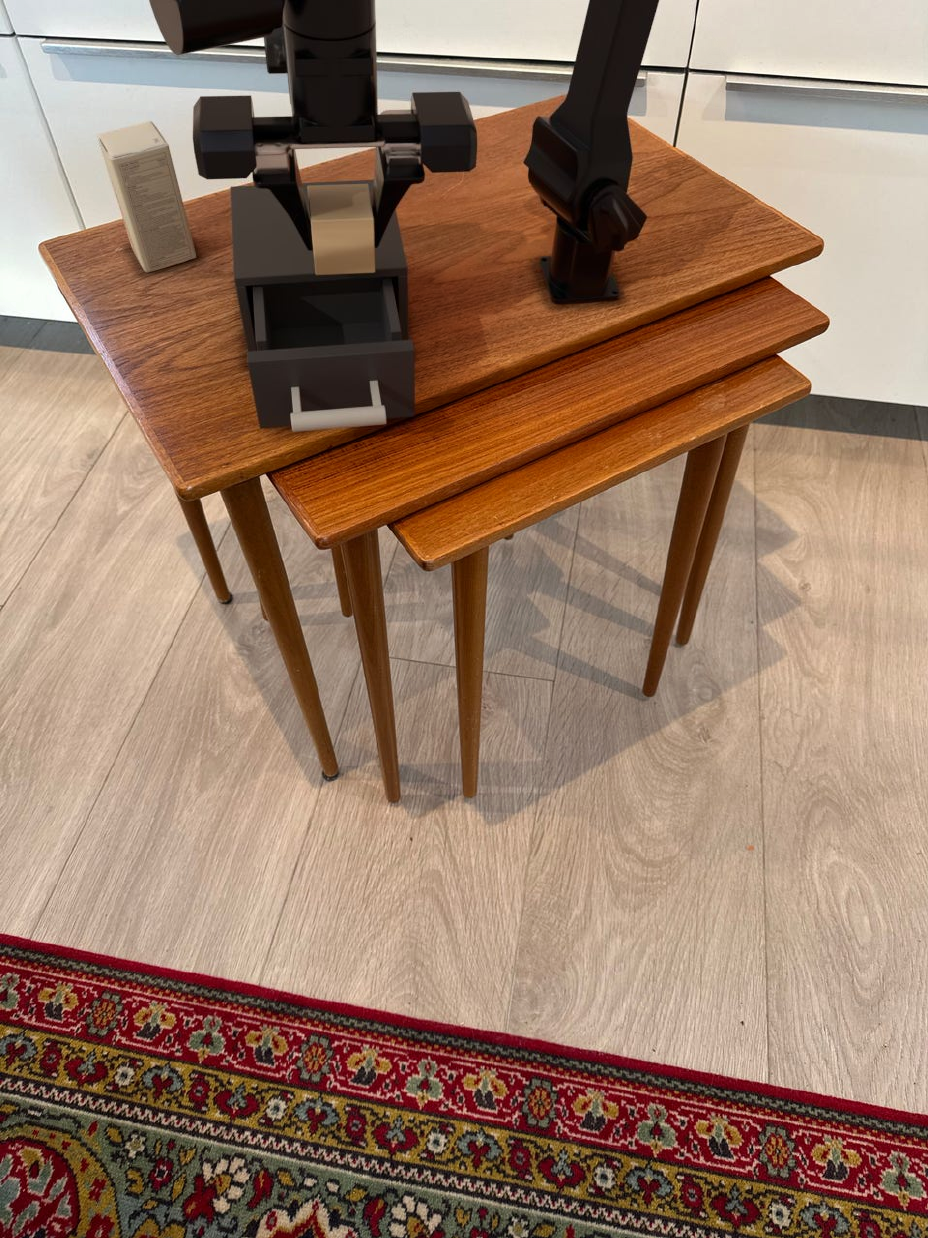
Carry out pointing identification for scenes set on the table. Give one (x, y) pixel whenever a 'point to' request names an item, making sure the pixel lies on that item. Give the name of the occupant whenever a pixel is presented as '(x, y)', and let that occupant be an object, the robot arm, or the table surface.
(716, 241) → the table surface
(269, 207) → the cabinet
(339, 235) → the block
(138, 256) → the box
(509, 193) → the table surface
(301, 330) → the drawer
